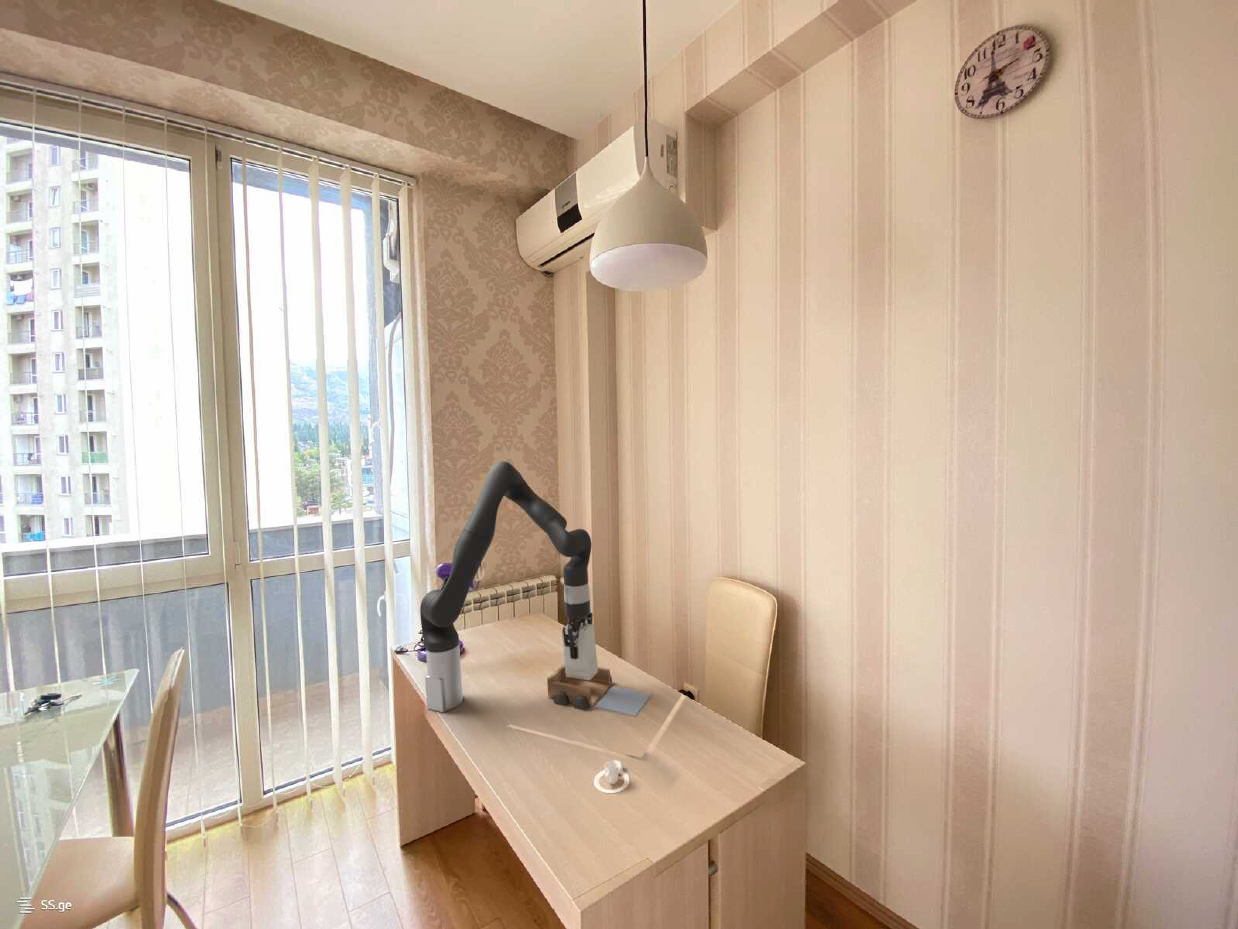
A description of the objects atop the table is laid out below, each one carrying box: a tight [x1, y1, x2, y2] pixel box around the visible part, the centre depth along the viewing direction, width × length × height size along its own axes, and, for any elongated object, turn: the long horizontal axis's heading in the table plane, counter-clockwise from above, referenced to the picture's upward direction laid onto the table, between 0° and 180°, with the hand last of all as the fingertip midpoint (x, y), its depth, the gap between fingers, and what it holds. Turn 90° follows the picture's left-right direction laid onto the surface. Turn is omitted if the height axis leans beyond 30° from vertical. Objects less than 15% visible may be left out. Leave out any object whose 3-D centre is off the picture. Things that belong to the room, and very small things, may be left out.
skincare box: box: [561, 623, 598, 680], centre depth 150 cm, size 8×6×15 cm
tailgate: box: [595, 684, 652, 718], centre depth 144 cm, size 12×1×12 cm
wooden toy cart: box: [546, 663, 613, 711], centre depth 150 cm, size 16×14×7 cm
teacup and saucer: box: [593, 760, 631, 794], centre depth 113 cm, size 9×8×4 cm
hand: (579, 653), depth 149 cm, fingers closed on skincare box, 6 cm apart
